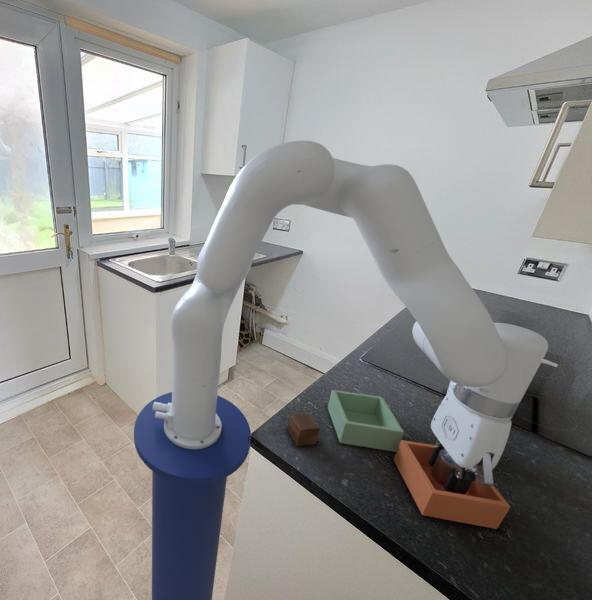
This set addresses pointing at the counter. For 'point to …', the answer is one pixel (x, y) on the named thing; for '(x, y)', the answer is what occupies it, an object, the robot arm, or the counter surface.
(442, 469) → the steel cylinder
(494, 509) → the right bin
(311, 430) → the walnut block
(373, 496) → the counter surface
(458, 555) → the counter surface
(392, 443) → the left bin
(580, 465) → the counter surface
